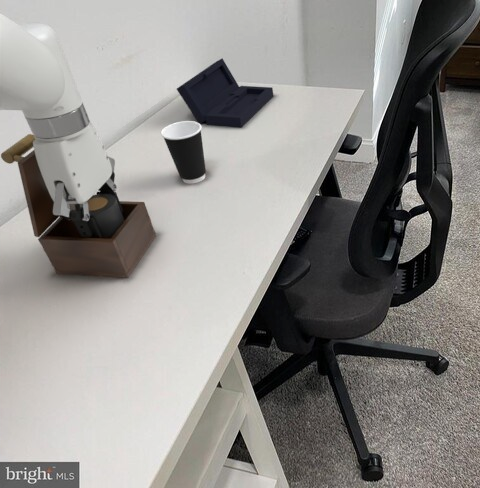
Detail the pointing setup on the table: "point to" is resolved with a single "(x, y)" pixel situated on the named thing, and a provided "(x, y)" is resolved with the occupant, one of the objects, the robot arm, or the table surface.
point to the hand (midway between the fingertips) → (103, 224)
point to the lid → (32, 184)
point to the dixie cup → (186, 149)
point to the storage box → (222, 97)
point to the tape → (104, 213)
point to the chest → (100, 245)
